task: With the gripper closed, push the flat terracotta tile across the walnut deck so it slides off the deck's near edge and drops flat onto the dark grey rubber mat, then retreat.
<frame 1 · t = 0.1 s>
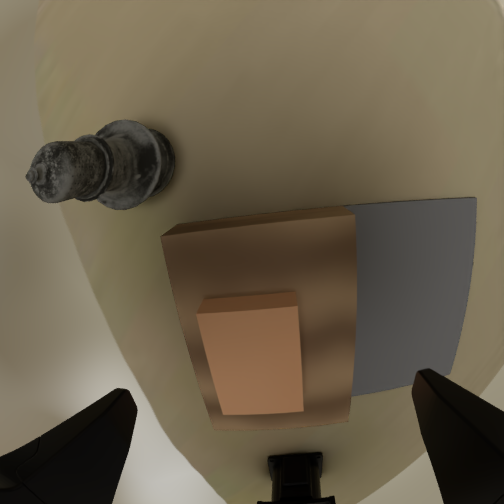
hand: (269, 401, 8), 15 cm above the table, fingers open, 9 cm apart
deck: (272, 325, 24), on the table
dark grey chess piece: (143, 163, 21), on the table
tile: (257, 352, 20), point 3 cm above the table, touching deck
mat: (412, 307, 22), on the table
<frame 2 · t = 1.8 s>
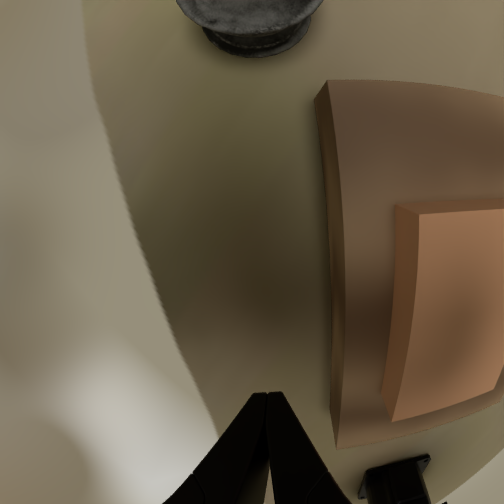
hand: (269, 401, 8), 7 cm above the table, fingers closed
deck: (435, 272, 14), on the table
dark grey chess piece: (255, 14, 11), on the table
tile: (451, 304, 11), point 3 cm above the table, touching deck
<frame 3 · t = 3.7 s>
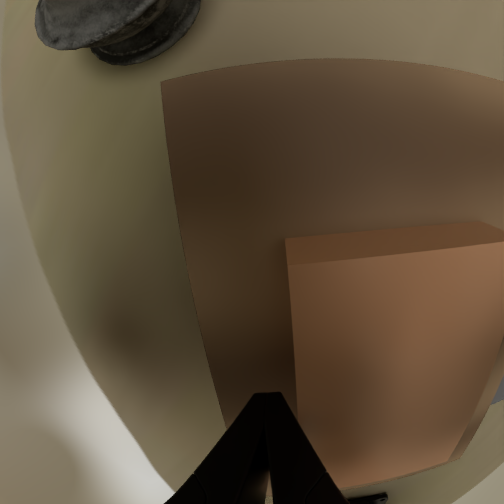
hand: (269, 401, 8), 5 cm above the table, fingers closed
deck: (369, 314, 12), on the table
dark grey chess piece: (142, 14, 9), on the table
tile: (386, 365, 8), point 4 cm above the table, touching deck, gripper
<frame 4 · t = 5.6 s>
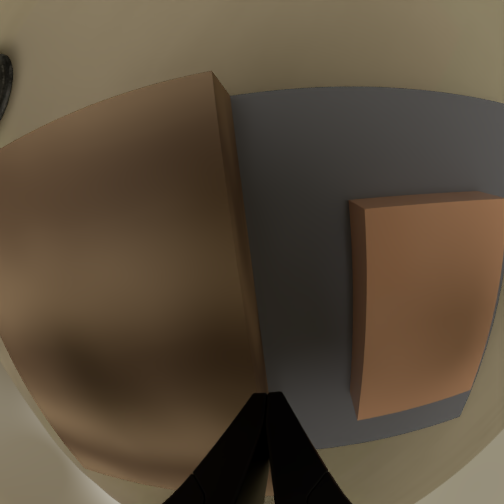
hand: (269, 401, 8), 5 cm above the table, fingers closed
deck: (132, 329, 13), on the table
tile: (438, 324, 9), point 2 cm above the table, tilted 180°, touching mat
mat: (398, 309, 12), on the table
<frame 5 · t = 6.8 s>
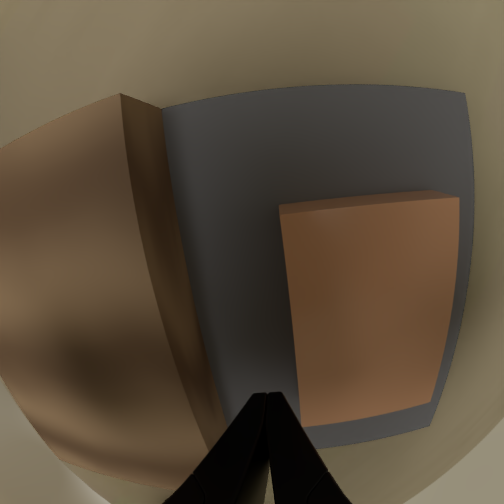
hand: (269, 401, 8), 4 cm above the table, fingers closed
deck: (91, 329, 13), on the table
tile: (379, 334, 9), point 2 cm above the table, tilted 180°, touching mat
mat: (344, 316, 12), on the table
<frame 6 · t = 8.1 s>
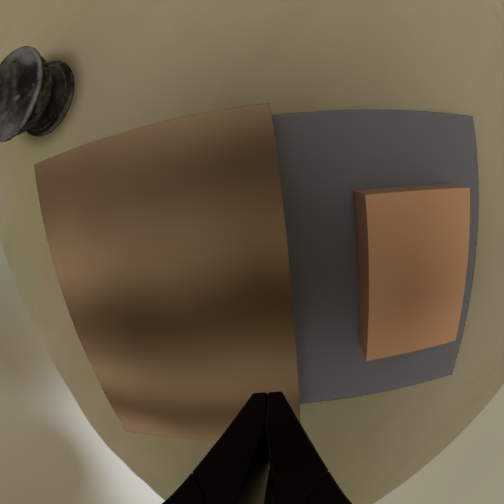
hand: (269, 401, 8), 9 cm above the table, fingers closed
deck: (185, 294, 17), on the table
dark grey chess piece: (47, 98, 14), on the table
tile: (422, 279, 13), point 2 cm above the table, tilted 180°, touching mat
mat: (393, 273, 16), on the table
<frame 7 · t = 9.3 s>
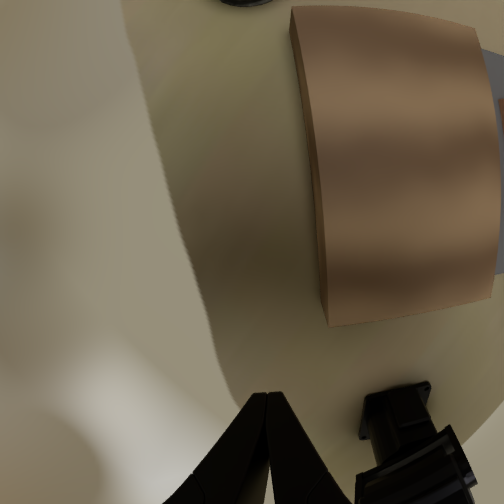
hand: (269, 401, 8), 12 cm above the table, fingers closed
deck: (400, 159, 17), on the table
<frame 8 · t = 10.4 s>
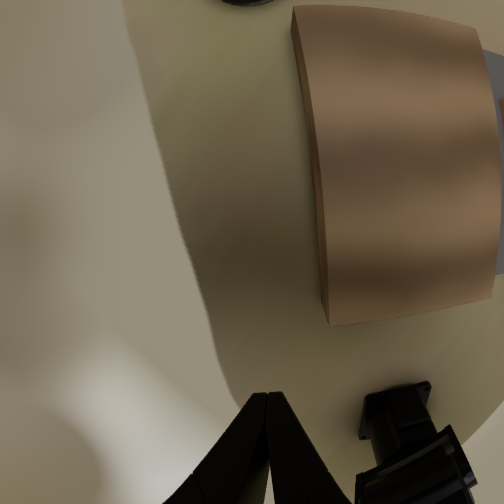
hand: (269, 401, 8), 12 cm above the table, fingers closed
deck: (401, 159, 17), on the table
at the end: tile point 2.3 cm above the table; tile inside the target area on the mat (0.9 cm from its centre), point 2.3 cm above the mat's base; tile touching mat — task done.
